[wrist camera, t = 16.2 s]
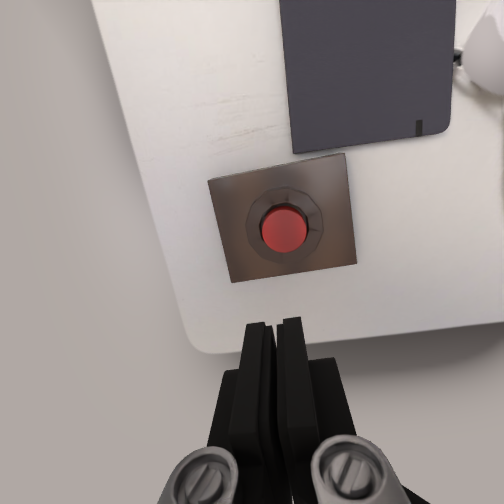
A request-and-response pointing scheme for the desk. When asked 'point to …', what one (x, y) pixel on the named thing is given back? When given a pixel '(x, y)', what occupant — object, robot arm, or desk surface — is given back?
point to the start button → (284, 229)
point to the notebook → (367, 70)
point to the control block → (292, 195)
